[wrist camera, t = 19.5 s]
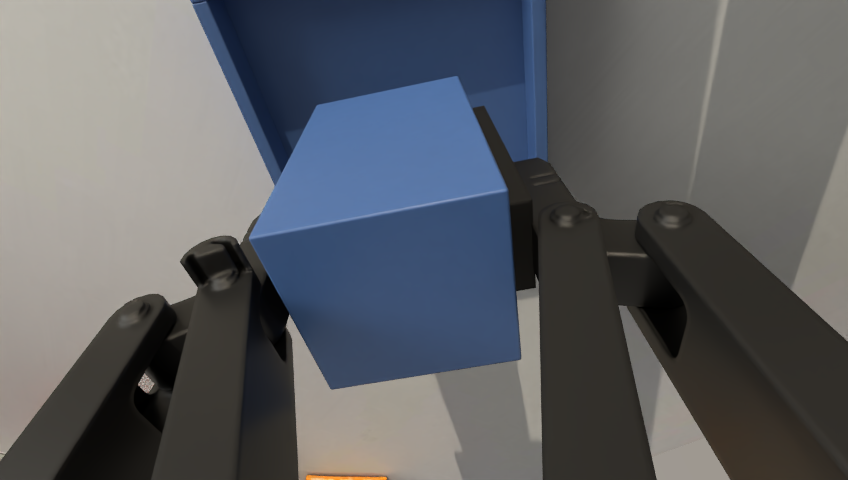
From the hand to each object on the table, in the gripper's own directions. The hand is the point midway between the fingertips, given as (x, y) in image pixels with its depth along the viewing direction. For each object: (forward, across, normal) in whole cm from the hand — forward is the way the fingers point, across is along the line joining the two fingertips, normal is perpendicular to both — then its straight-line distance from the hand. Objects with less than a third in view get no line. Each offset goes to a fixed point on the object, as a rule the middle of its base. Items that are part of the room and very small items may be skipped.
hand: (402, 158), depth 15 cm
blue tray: (+6, 0, 0) cm, 6 cm away
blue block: (0, 0, 0) cm, 0 cm away
